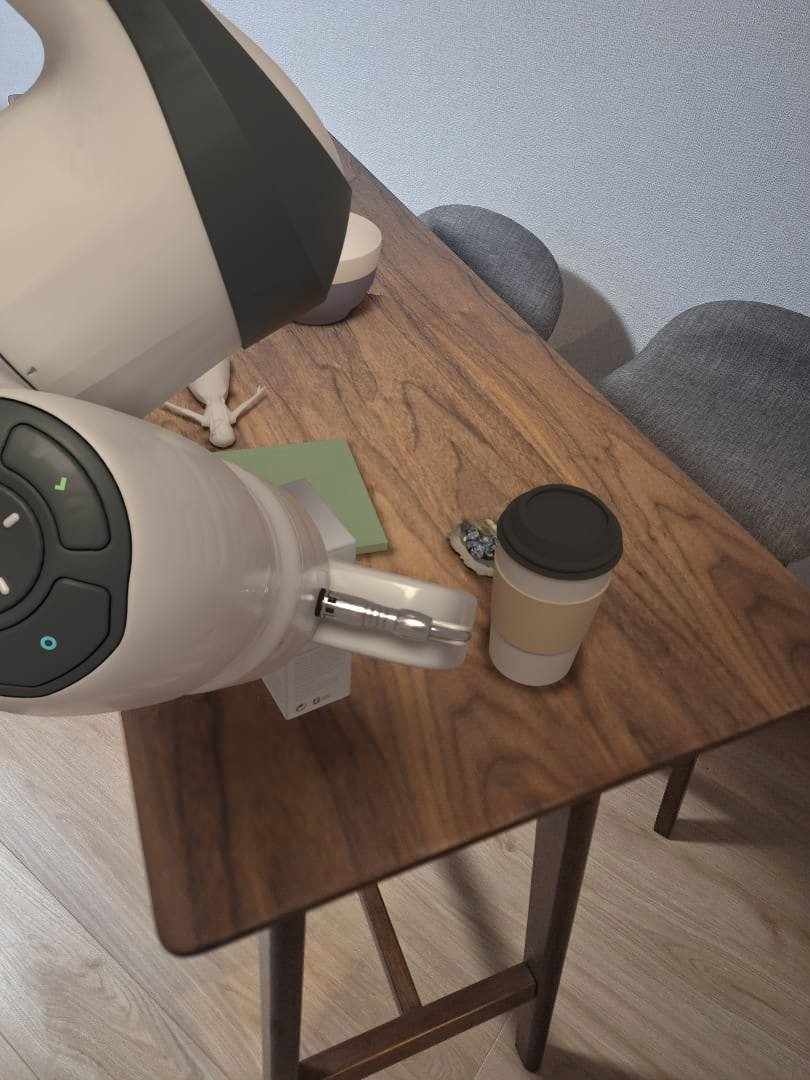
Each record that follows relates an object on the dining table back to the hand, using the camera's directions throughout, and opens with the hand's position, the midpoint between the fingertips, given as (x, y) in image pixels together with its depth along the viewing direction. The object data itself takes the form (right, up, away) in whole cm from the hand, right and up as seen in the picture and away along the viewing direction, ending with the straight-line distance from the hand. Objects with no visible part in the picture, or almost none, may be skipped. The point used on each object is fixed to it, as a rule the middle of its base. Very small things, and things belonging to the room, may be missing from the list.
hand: (298, 587), depth 50 cm
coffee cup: (+16, -7, +23) cm, 29 cm away
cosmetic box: (-1, -5, +4) cm, 7 cm away
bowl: (-6, +31, +64) cm, 71 cm away
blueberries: (+13, +1, +32) cm, 35 cm away
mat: (-7, +6, +34) cm, 35 cm away
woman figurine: (-15, +17, +46) cm, 51 cm away
